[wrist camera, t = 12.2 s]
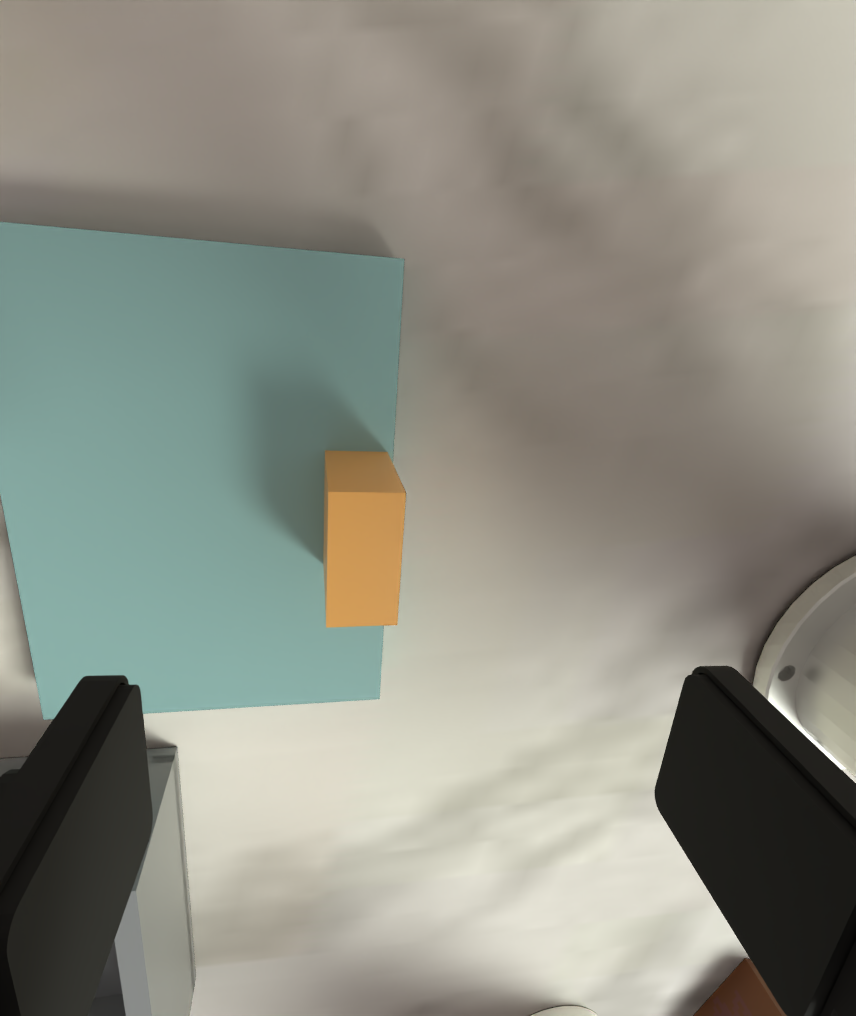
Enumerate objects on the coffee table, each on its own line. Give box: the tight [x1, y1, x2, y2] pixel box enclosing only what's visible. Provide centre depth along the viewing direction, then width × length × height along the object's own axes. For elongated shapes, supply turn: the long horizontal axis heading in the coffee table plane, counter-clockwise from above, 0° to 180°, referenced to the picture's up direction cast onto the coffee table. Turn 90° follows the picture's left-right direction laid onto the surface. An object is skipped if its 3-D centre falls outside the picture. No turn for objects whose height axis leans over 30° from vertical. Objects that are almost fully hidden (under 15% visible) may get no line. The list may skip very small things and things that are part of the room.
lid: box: [0, 222, 406, 720], centre depth 17 cm, size 12×16×6 cm
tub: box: [0, 747, 196, 1016], centre depth 22 cm, size 10×14×6 cm
